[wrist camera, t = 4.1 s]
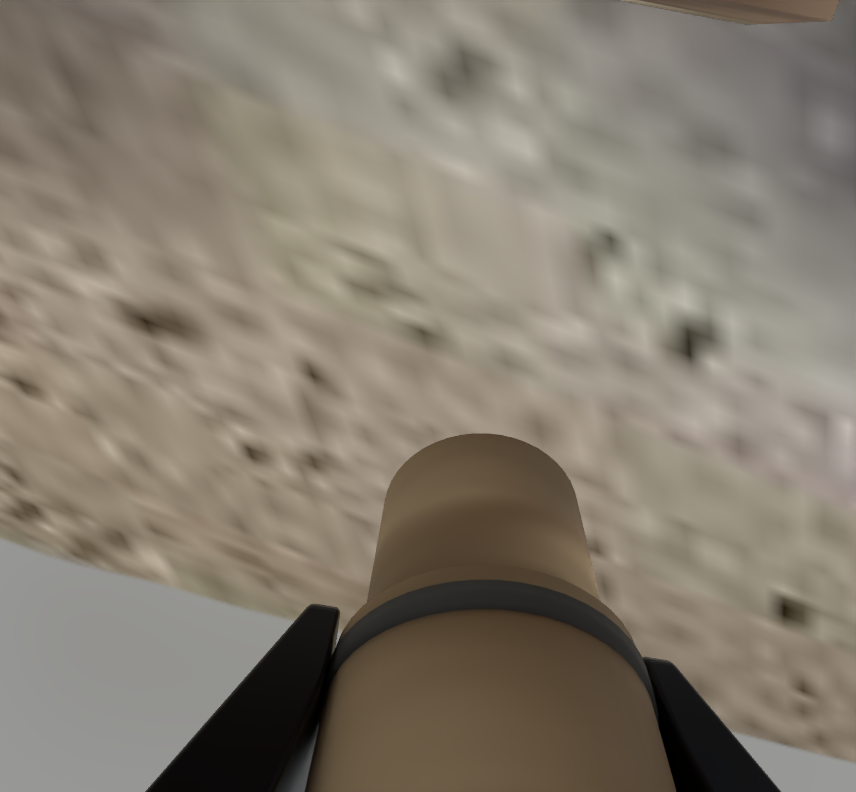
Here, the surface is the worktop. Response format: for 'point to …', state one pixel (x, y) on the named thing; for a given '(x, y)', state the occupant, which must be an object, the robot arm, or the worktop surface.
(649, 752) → the oak peg
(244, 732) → the robot arm
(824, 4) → the walnut socket block
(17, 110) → the worktop surface
